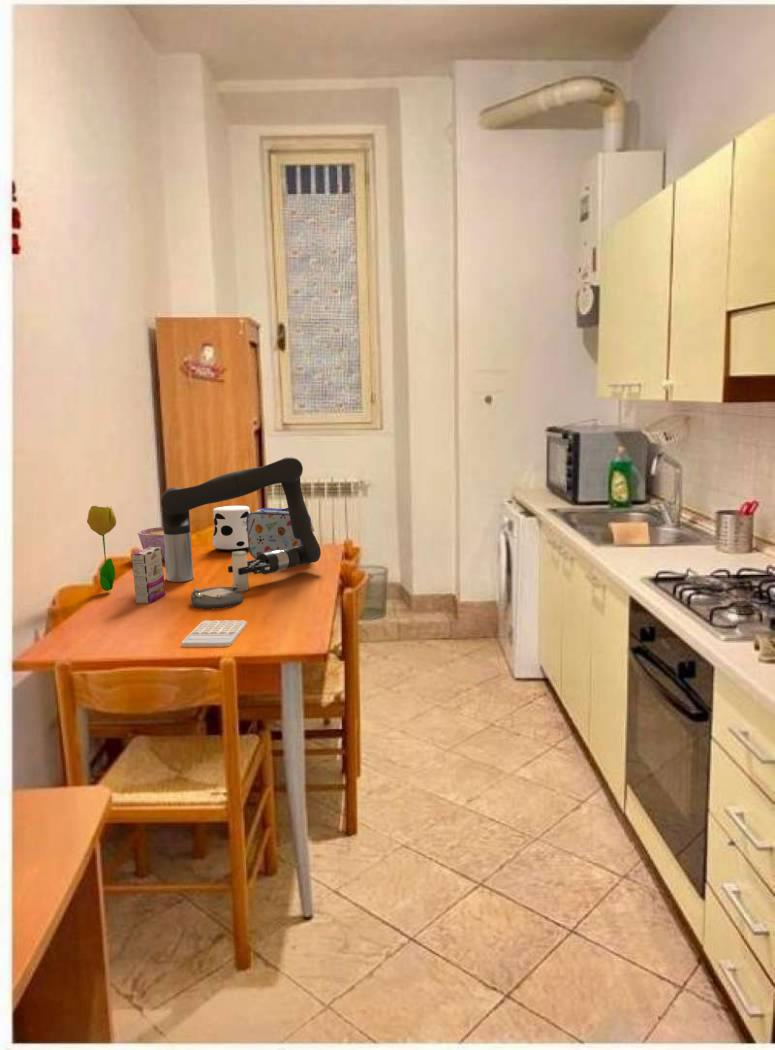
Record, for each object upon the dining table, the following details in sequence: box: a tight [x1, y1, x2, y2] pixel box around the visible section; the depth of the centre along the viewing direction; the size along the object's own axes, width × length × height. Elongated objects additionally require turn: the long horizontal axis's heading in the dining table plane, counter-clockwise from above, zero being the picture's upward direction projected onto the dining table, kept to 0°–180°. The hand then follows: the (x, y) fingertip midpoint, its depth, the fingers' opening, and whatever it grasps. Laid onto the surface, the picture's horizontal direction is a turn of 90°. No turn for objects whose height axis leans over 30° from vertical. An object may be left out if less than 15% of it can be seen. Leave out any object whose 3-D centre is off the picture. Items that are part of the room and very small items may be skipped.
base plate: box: [190, 584, 243, 610], centre depth 243 cm, size 16×16×4 cm
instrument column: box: [231, 550, 250, 592], centre depth 258 cm, size 5×5×13 cm
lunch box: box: [246, 507, 315, 559], centre depth 302 cm, size 28×10×22 cm, turn 67°
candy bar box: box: [130, 547, 166, 605], centre depth 248 cm, size 11×5×16 cm, turn 168°
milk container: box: [212, 505, 251, 552], centre depth 328 cm, size 17×17×18 cm
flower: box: [86, 505, 117, 592], centre depth 257 cm, size 9×8×30 cm
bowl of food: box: [137, 526, 165, 559], centre depth 313 cm, size 20×20×12 cm
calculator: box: [181, 619, 248, 648], centre depth 210 cm, size 13×20×2 cm, turn 177°
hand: (233, 570), depth 256 cm, fingers closed on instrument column, 5 cm apart
